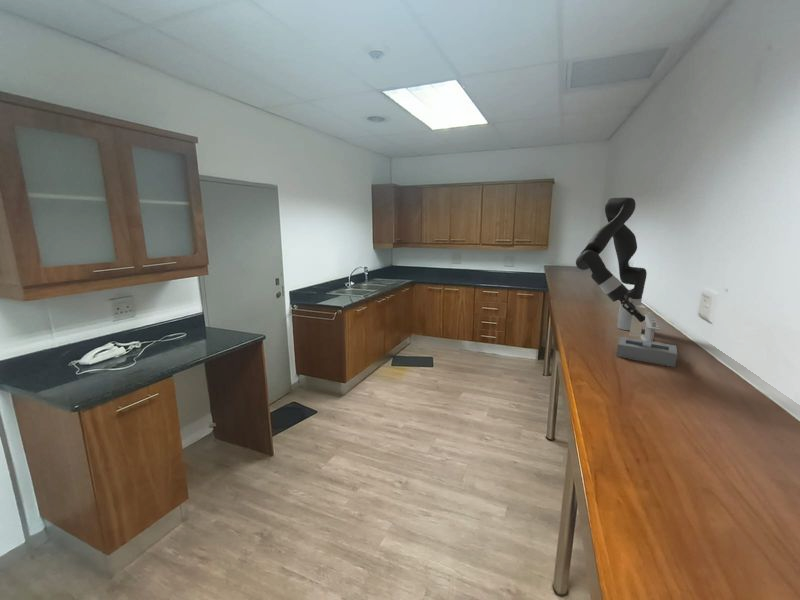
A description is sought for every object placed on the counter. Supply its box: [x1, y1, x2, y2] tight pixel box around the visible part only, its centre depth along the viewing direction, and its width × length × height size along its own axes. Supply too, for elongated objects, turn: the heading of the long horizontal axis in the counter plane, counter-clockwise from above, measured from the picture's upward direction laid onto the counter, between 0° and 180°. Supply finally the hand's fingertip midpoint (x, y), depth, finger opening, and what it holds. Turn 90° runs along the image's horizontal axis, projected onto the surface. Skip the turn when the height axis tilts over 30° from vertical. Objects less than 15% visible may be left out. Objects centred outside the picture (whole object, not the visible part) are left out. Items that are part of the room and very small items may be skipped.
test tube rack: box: [640, 311, 661, 342], centre depth 163 cm, size 25×4×13 cm, turn 149°
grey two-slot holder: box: [615, 336, 678, 368], centre depth 147 cm, size 12×20×6 cm, turn 53°
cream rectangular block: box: [628, 305, 646, 338], centre depth 147 cm, size 3×4×13 cm
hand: (643, 319), depth 146 cm, fingers closed on cream rectangular block, 3 cm apart
